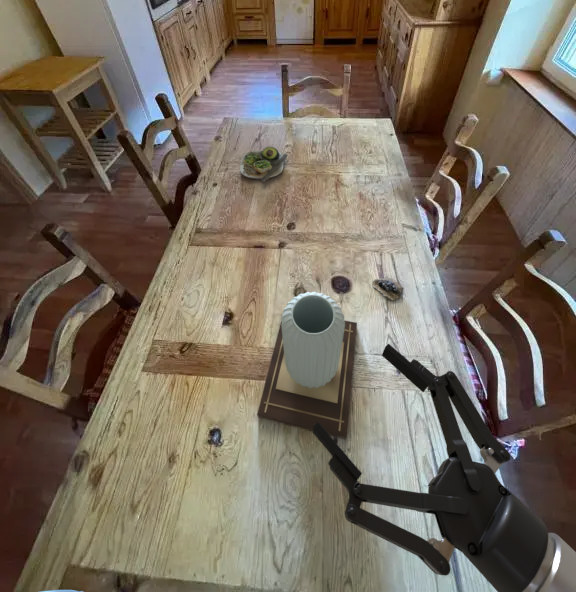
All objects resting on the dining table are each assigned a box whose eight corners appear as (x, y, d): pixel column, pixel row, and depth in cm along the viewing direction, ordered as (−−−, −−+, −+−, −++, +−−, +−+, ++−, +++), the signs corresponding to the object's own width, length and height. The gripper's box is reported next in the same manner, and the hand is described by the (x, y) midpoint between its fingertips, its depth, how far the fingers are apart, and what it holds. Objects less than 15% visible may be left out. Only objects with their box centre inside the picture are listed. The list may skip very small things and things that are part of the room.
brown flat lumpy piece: (398, 305, 86) (399, 301, 85) (367, 292, 89) (368, 288, 88) (405, 285, 91) (407, 281, 89) (376, 273, 94) (377, 269, 92)
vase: (291, 398, 70) (287, 352, 55) (281, 344, 78) (275, 292, 63) (344, 385, 72) (355, 337, 56) (328, 334, 80) (334, 280, 64)
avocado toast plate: (285, 185, 122) (285, 175, 119) (236, 185, 123) (234, 175, 120) (288, 153, 136) (287, 143, 132) (243, 154, 137) (242, 144, 133)
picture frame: (346, 439, 66) (346, 437, 65) (257, 417, 70) (256, 414, 68) (356, 325, 83) (357, 322, 82) (284, 311, 86) (284, 308, 85)
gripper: (446, 706, 29) (281, 473, 40) (557, 460, 40) (403, 334, 52) (478, 738, 24) (277, 460, 35) (594, 446, 35) (414, 309, 47)
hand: (352, 385), depth 44 cm, fingers open, 13 cm apart
